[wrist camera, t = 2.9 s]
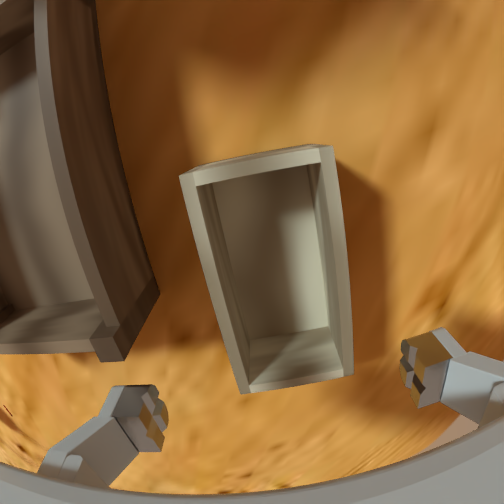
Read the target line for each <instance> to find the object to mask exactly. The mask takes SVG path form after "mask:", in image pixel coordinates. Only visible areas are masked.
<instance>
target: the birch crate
mask: <svg viewBox="0 0 504 504" xmlns="http://www.w3.org/2000/svg"><path fill="white" fill-rule="evenodd" d="M179 179H180V183H181V188H182V192H183V196H184V200H185V204H186V208H187V212H188V216H189V220H190V224H191V227H192V231H193V235H194V239H195V243H196V246H197V250H198V254H199V258H200V261H201V265H202V269H203V272H204V276H205V279H206V283H207V286H208V290H209V293H210V297H211V300H212V304H213V307H214V311H215V314H216V317H217V321H218V324H219V327H220V331H221V334H222V337H223V341H224V344H225V347H226V350H227V354H228V357H229V360H230V363H231V366H232V369H233V373H234V376H235V379H236V382H237V385H238V388H239V391H240V394H247V393H255V392H262V391H269V390H276V389H282V388H288V387H294V386H300V385H305V384H311V383H316V382H321V381H326V380H331V379H335V378H340V377H344V376H349V375H353V374H354V355H353V328H352V309H351V294H350V280H349V268H348V257H347V247H346V237H345V228H344V220H343V212H342V204H341V196H340V189H339V182H338V175H337V169H336V163H335V156H334V150H333V146H330V145H320V144H307V145H300V146H294V147H288V148H282V149H277V150H271V151H266V152H261V153H255V154H250V155H245V156H240V157H235V158H231V159H226V160H221V161H217V162H212V163H208V164H204V165H199V166H197V167H195V168H193V169H191V170H189V171H187V172H185V173H183V174H181V175H179Z"/></svg>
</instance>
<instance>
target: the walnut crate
mask: <svg viewBox="0 0 504 504" xmlns="http://www.w3.org/2000/svg"><path fill="white" fill-rule="evenodd" d="M159 295H160V292H159V289H158V286H157V283H156V280H155V277H154V274H153V271H152V268H151V265H150V262H149V259H148V256H147V252H146V249H145V246H144V243H143V239H142V236H141V233H140V229H139V226H138V222H137V219H136V215H135V212H134V208H133V204H132V201H131V197H130V193H129V189H128V185H127V181H126V177H125V173H124V169H123V165H122V161H121V157H120V152H119V148H118V143H117V139H116V134H115V129H114V125H113V120H112V115H111V110H110V104H109V99H108V93H107V87H106V82H105V75H104V69H103V62H102V56H101V48H100V41H99V32H98V24H97V14H96V3H95V0H0V354H53V353H77V352H96V354H97V356H98V358H99V360H100V362H117V361H125V359H126V357H127V355H128V353H129V351H130V349H131V347H132V345H133V343H134V341H135V340H136V338H137V336H138V334H139V332H140V330H141V328H142V326H143V325H144V323H145V321H146V319H147V317H148V315H149V313H150V312H151V310H152V308H153V306H154V304H155V303H156V301H157V299H158V297H159Z"/></svg>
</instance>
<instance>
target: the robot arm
mask: <svg viewBox="0 0 504 504" xmlns="http://www.w3.org/2000/svg"><path fill="white" fill-rule="evenodd" d="M401 351H402V353H403V355H404V356H403V357H402V358H401V360H400V368H399V369H400V375H401V378H402V381H403V383H404V385H405V387H407V388H410V389H411V394H410V396H411V398H412V399H413V401H414V403H415V405H416V407H417V408H421V407H424V406H427V405H430V404H433V403H436V402H439V401H440V402H441V403H443V404H444V405H446V406H448V407H450V408H451V409H453V410H455V411H456V412H458V413H460V414H462V415H463V416H465V417H467V418H469V419H471V420H472V421H474V422H476V423H477V424H479V426H478V429H476V430H474V431H472V432H470V433H468V434H466V435H464V436H462V437H460V438H457V439H455V440H453V441H451V442H448V443H446V444H444V445H441V446H439V447H436V448H434V449H432V450H429V451H426V452H424V453H421V454H419V455H416V456H413V457H410V458H408V459H405V460H402V461H399V462H396V463H393V464H390V465H387V466H383V467H380V468H377V469H373V470H370V471H366V472H363V473H359V474H355V475H351V476H347V477H343V478H339V479H334V480H329V481H325V482H320V483H315V484H309V485H303V486H297V487H291V488H284V489H276V490H268V491H258V492H247V493H232V494H202V495H190V494H160V493H146V492H135V491H125V490H117V489H111V488H110V487H109V485H110V484H111V483H112V482H113V481H114V480H115V479H116V478H117V477H118V476H119V474H120V473H121V472H122V471H123V470H124V469H125V468H126V467H127V466H128V465H129V464H130V463H131V461H132V460H133V459H134V458H135V457H136V456H137V455H138V454H139V452H161V451H162V447H163V443H164V439H165V437H164V435H163V433H162V432H163V431H164V430H165V429H166V428H167V426H168V421H169V419H168V411H167V407H166V405H165V403H164V402H163V401H162V400H160V399H159V398H158V395H159V392H158V390H157V388H156V386H155V385H152V384H150V385H127V386H126V385H122V386H114V387H112V388H111V390H110V392H109V394H108V396H107V398H106V400H105V403H104V405H103V407H102V409H101V411H100V413H99V415H98V417H93V418H92V419H90V420H89V421H88V422H86V423H85V424H84V425H82V426H81V427H79V428H78V429H77V430H75V431H74V432H73V433H71V434H70V435H68V436H67V437H66V438H64V439H63V440H61V441H60V442H59V443H57V444H56V445H54V446H53V447H52V448H50V449H49V450H48V452H47V454H46V456H45V458H44V460H43V462H42V464H41V466H40V468H39V470H38V472H37V473H34V472H31V471H27V470H24V469H21V468H17V467H14V466H11V465H8V464H5V463H3V462H0V504H504V362H502V361H499V360H496V359H492V358H489V357H486V356H483V355H480V354H477V353H474V352H471V351H470V352H466V351H465V350H464V349H463V348H462V347H461V346H460V345H459V343H458V342H457V341H456V340H455V339H454V338H453V337H452V336H451V335H450V334H449V332H448V331H447V330H446V329H445V328H443V327H440V328H437V329H435V330H432V331H429V332H427V333H424V334H421V335H418V336H414V337H411V338H408V339H405V340H403V341H402V343H401Z"/></svg>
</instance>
